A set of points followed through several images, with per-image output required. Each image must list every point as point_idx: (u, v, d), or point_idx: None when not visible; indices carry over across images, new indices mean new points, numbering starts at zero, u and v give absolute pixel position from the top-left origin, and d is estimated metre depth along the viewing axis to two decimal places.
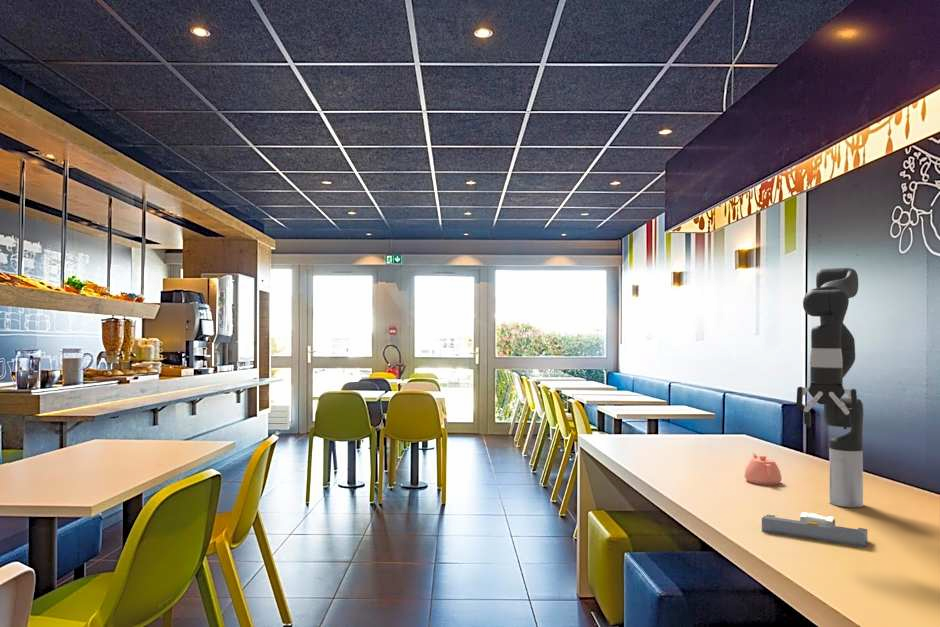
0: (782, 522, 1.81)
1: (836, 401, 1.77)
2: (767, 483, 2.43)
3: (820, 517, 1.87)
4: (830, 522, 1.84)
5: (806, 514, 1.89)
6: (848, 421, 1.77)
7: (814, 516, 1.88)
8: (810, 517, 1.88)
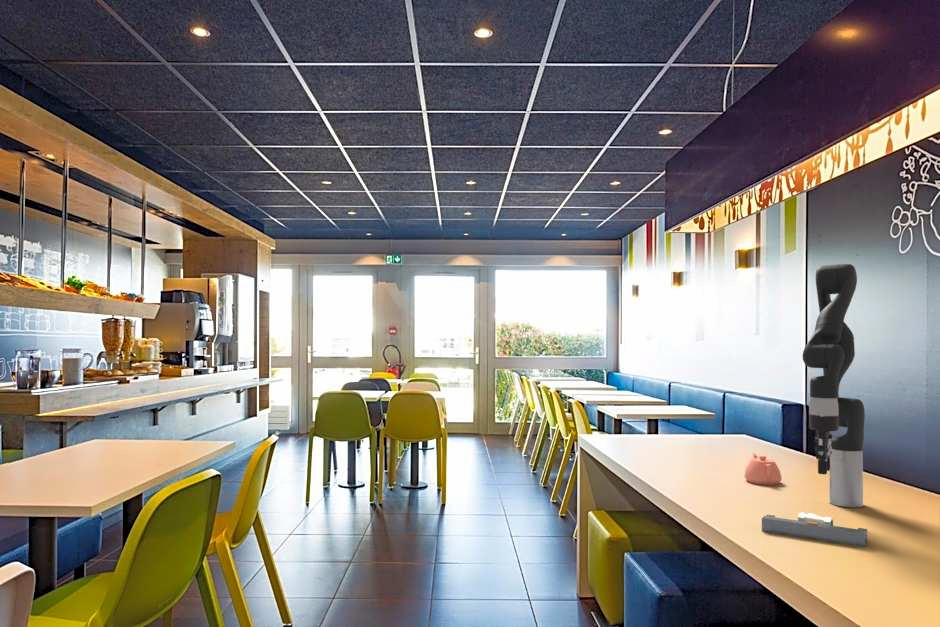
0: (782, 522, 1.81)
1: (831, 445, 1.98)
2: (767, 483, 2.43)
3: (818, 518, 1.86)
4: (828, 523, 1.83)
5: (804, 514, 1.88)
6: None
7: (812, 516, 1.87)
8: (808, 517, 1.87)
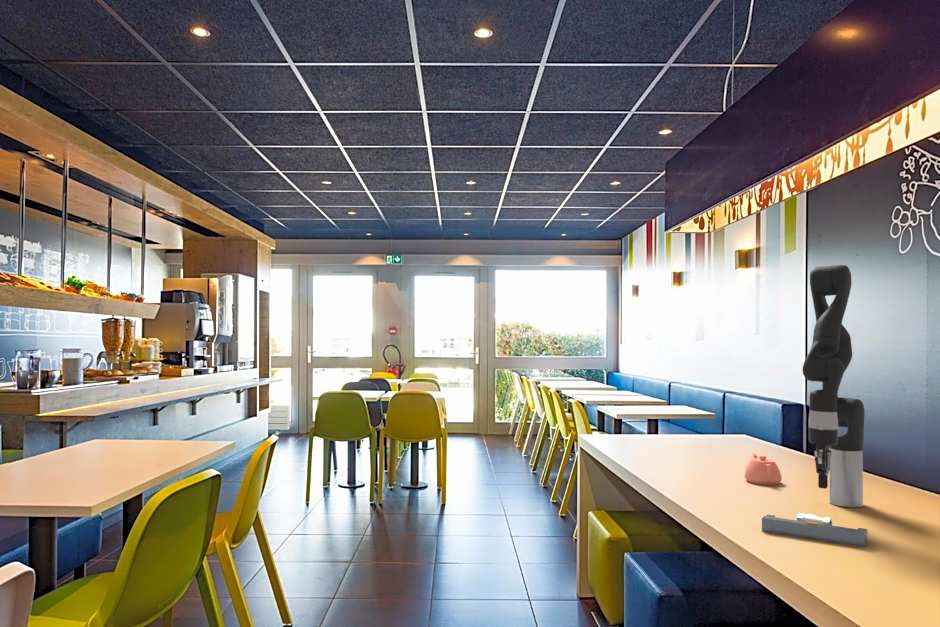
0: (782, 522, 1.81)
1: (830, 460, 1.97)
2: (767, 483, 2.43)
3: (817, 518, 1.86)
4: (826, 523, 1.83)
5: (803, 515, 1.88)
6: None
7: (811, 517, 1.87)
8: (807, 518, 1.87)
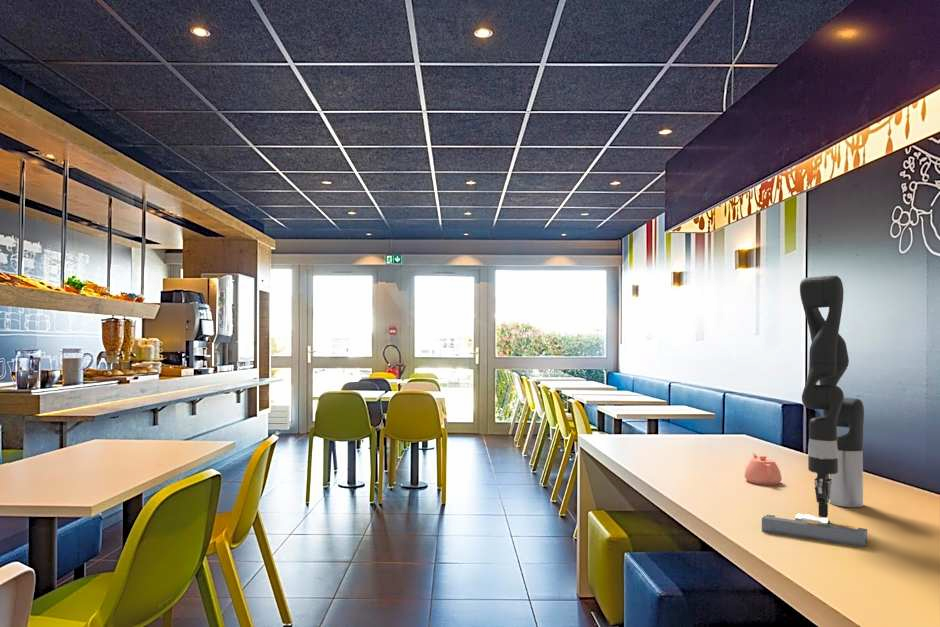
0: (782, 522, 1.81)
1: (830, 488, 1.95)
2: (767, 483, 2.43)
3: (815, 518, 1.85)
4: (825, 524, 1.83)
5: (801, 515, 1.88)
6: None
7: (809, 517, 1.86)
8: (805, 518, 1.86)
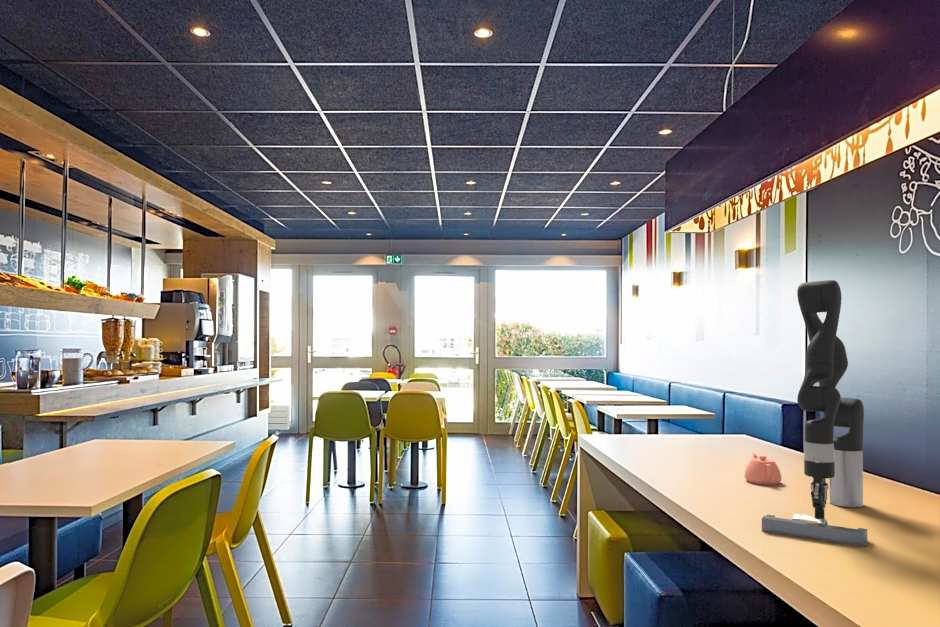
0: (782, 522, 1.81)
1: (826, 493, 1.89)
2: (767, 483, 2.43)
3: (812, 519, 1.84)
4: None
5: (798, 516, 1.87)
6: None
7: (806, 518, 1.85)
8: (802, 519, 1.86)
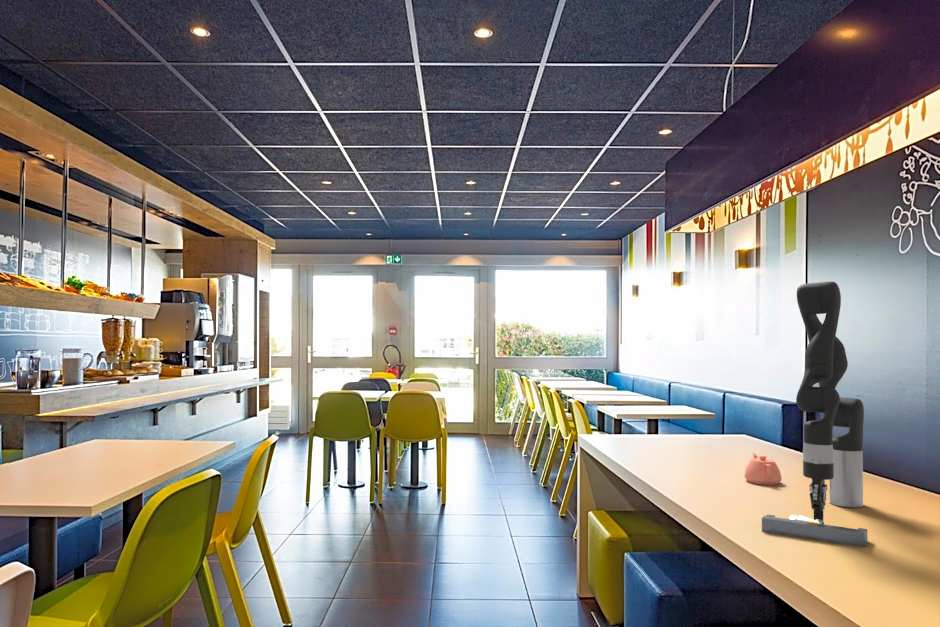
0: (782, 522, 1.81)
1: (825, 494, 1.87)
2: (767, 483, 2.43)
3: (809, 520, 1.84)
4: None
5: (795, 517, 1.86)
6: None
7: (803, 519, 1.85)
8: (798, 520, 1.85)
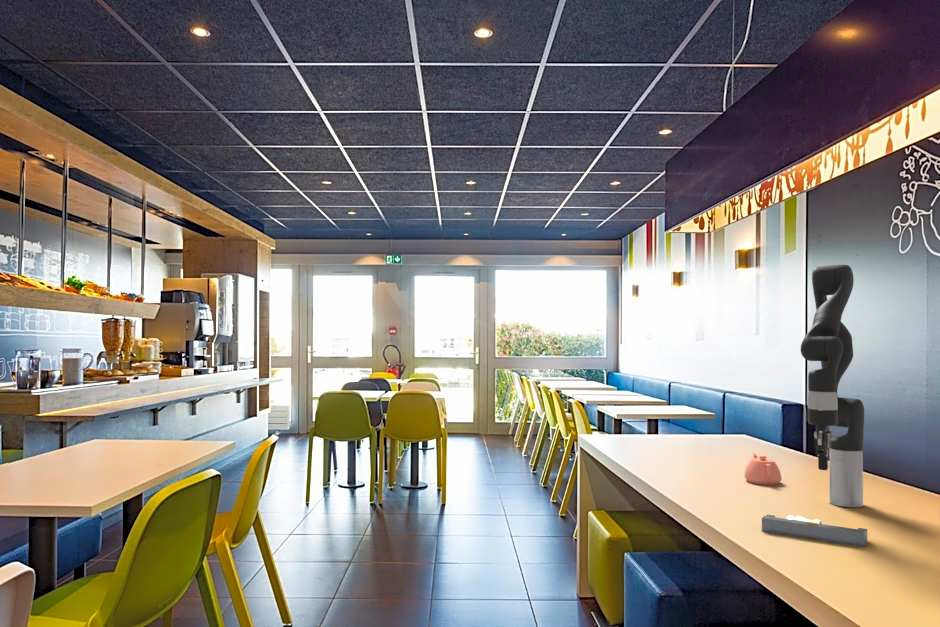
0: (782, 522, 1.81)
1: (830, 441, 1.92)
2: (767, 483, 2.43)
3: (806, 520, 1.83)
4: None
5: (792, 517, 1.86)
6: None
7: (800, 519, 1.84)
8: None
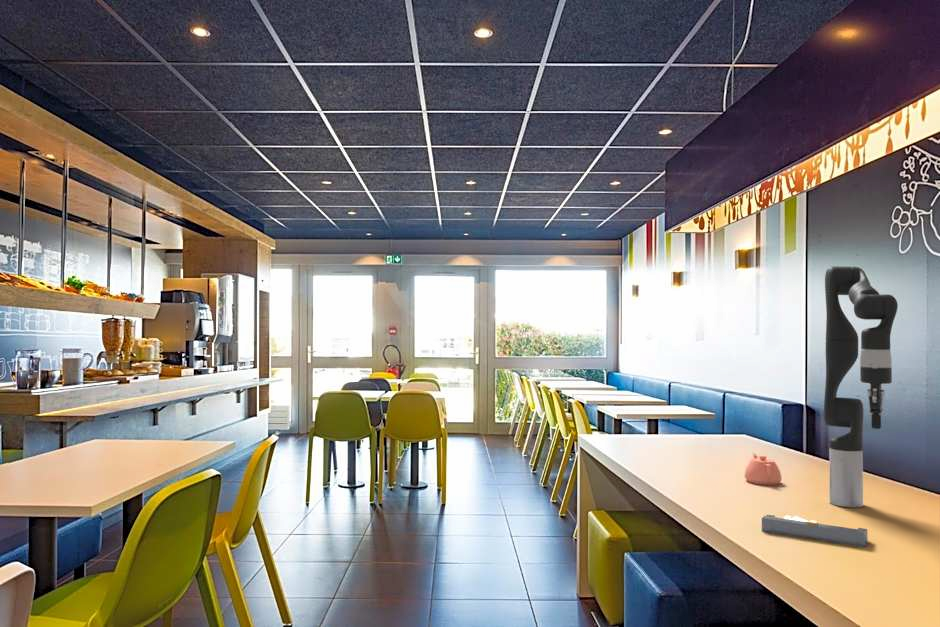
0: (782, 522, 1.81)
1: (883, 399, 1.91)
2: (767, 483, 2.43)
3: None
4: None
5: (789, 518, 1.85)
6: None
7: (797, 520, 1.83)
8: None
